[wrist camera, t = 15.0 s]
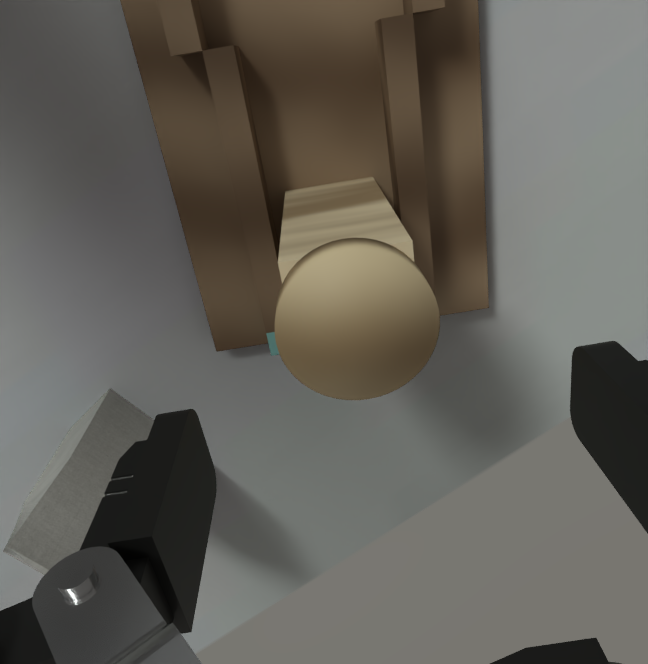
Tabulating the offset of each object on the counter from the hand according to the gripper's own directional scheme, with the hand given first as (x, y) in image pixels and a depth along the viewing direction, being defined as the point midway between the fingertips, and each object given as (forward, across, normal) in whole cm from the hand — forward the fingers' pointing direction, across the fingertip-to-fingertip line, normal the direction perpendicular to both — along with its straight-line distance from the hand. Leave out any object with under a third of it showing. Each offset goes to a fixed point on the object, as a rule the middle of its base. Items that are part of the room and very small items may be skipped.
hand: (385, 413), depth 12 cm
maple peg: (+16, 0, 0) cm, 16 cm away
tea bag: (+17, +13, +11) cm, 24 cm away
